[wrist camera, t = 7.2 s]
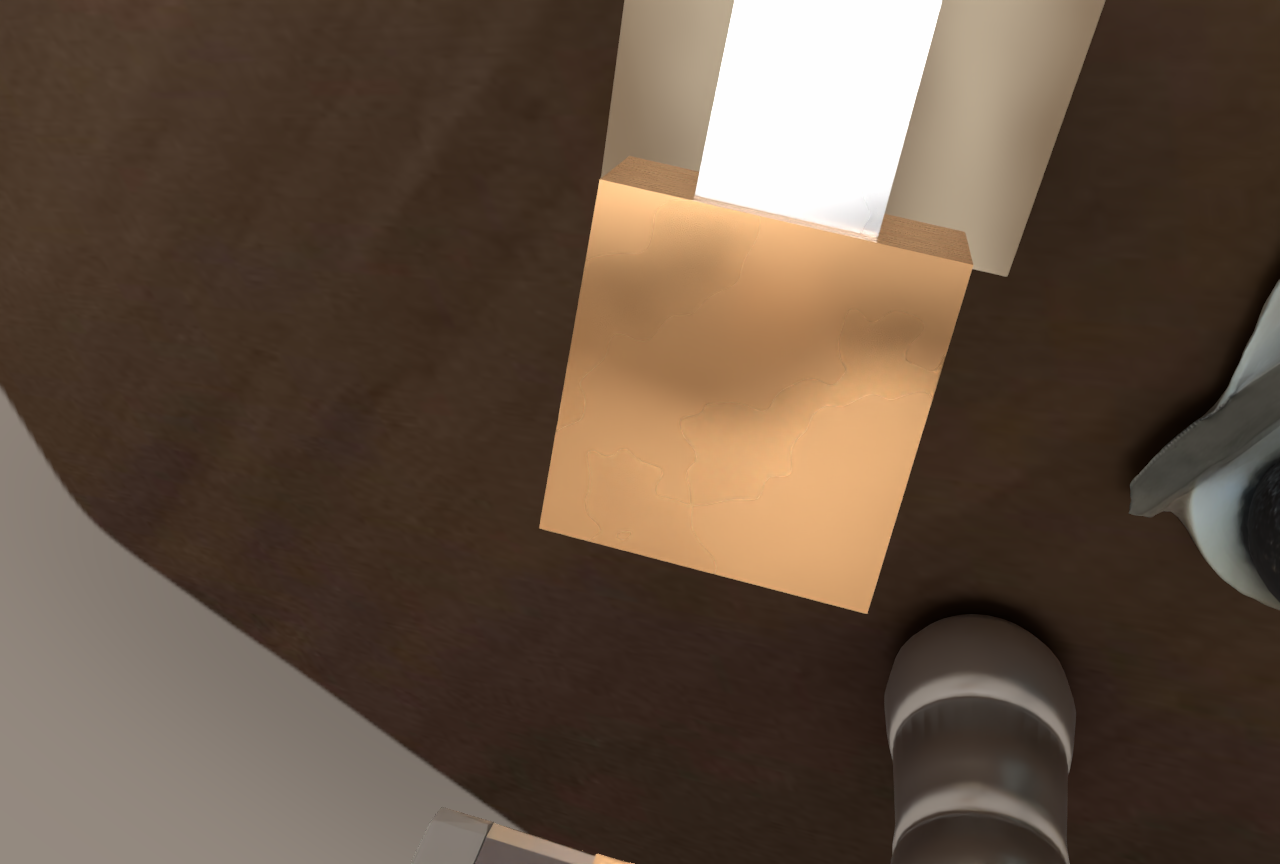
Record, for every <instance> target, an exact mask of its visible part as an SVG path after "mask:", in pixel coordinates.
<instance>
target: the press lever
mask: <svg viewBox="0 0 1280 864" xmlns="http://www.w3.org/2000/svg"><path fill="white" fill-rule="evenodd" d="M941 2H942V0H735V2H734V7H733V12H732V16H731V21H730V26H729V31H728V36H727V41H726V46H725V50H724V55H723V60H722V65H721V70H720V75H719V80H718V85H717V89H716V94H715V99H714V104H713V109H712V114H711V119H710V123H709V128H708V133H707V138H706V143H705V148H704V153H703V157H702V162H701V167H700V172H699V171H694V170H690V169H685V168H681V167H677V166H672V165H668V164H663V163H659V162H654V161H650V160H646V159H641V158H637V157H632V156H628V157H627V158H626V159H625V160H623V161H622V162H621V163H620V164H618V165H617V166H616V167H615V168H613V169H612V170H611V171H610V172H608V173H607V174H606V175H604V176H603V177H602V178H601V179H600V181H599V186H598V192H597V198H596V204H595V209H594V215H593V221H592V227H591V233H590V238H589V244H588V250H587V256H586V261H585V267H584V273H583V279H582V284H581V290H580V296H579V302H578V307H577V313H576V319H575V325H574V330H573V336H572V342H571V348H570V354H569V359H568V365H567V371H566V377H565V382H564V388H563V394H562V400H561V405H560V411H559V417H558V423H557V428H556V434H555V440H554V446H553V451H552V457H551V463H550V469H549V475H548V480H547V486H546V492H545V498H544V503H543V509H542V515H541V521H540V526H539V528H540V529H544V530H548V531H551V532H555V533H559V534H563V535H567V536H570V537H574V538H578V539H582V540H586V541H590V542H593V543H597V544H601V545H605V546H609V547H613V548H616V549H620V550H624V551H628V552H632V553H636V554H639V555H643V556H647V557H651V558H655V559H658V560H662V561H666V562H670V563H674V564H678V565H681V566H685V567H689V568H693V569H697V570H701V571H704V572H708V573H712V574H716V575H720V576H724V577H727V578H731V579H735V580H739V581H743V582H746V583H750V584H754V585H758V586H762V587H766V588H769V589H773V590H777V591H781V592H785V593H789V594H792V595H796V596H800V597H804V598H808V599H812V600H815V601H819V602H823V603H827V604H831V605H834V606H838V607H842V608H846V609H850V610H854V611H857V612H861V613H865V614H867V613H868V610H869V606H870V603H871V600H872V596H873V593H874V590H875V587H876V583H877V580H878V577H879V573H880V570H881V567H882V564H883V560H884V557H885V554H886V550H887V547H888V544H889V541H890V537H891V534H892V531H893V527H894V524H895V521H896V518H897V514H898V511H899V508H900V504H901V501H902V498H903V495H904V491H905V488H906V485H907V481H908V478H909V475H910V472H911V468H912V465H913V462H914V459H915V455H916V452H917V449H918V445H919V442H920V439H921V436H922V432H923V429H924V426H925V422H926V419H927V416H928V413H929V409H930V406H931V403H932V399H933V396H934V393H935V390H936V386H937V383H938V380H939V376H940V373H941V370H942V367H943V363H944V360H945V357H946V353H947V350H948V347H949V344H950V340H951V337H952V334H953V330H954V327H955V324H956V321H957V317H958V314H959V311H960V307H961V304H962V301H963V298H964V294H965V291H966V288H967V284H968V281H969V278H970V275H971V271H972V268H973V261H972V257H971V253H970V249H969V245H968V241H967V237H966V233H965V232H963V231H959V230H954V229H950V228H946V227H941V226H937V225H932V224H928V223H924V222H919V221H915V220H910V219H906V218H902V217H897V216H893V215H888V214H884V213H885V210H886V206H887V202H888V199H889V195H890V191H891V188H892V184H893V180H894V176H895V173H896V169H897V165H898V162H899V158H900V154H901V150H902V147H903V143H904V139H905V136H906V132H907V128H908V125H909V121H910V117H911V113H912V110H913V106H914V102H915V99H916V95H917V91H918V87H919V84H920V80H921V76H922V73H923V69H924V65H925V62H926V58H927V54H928V50H929V47H930V43H931V39H932V36H933V32H934V28H935V24H936V21H937V17H938V13H939V10H940V6H941Z"/></svg>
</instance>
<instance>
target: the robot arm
mask: <svg viewBox="0 0 1280 864" xmlns="http://www.w3.org/2000/svg"><path fill="white" fill-rule="evenodd" d="M411 864H632V863H628V862H624V861H621V860H617V859H614V858H610V857H607V856H603V855H600V854H596V855H594V854H591V853H588V852H585V851H582V850H578V849H575V848H572V847H569V846H566V845H562V844H559V843H556V842H553V841H550V840H546V839H543V838H540V837H537V836H534V835H530V834H527V833H524V832H521V831H518V830H514V829H511V828H508V827H505V826H502V825H498V824H495V823H494V822H491V821H488V820H484V819H481V818H478V817H474V816H471V815H468V814H464V813H460V812H457V811H454V810H451V809H447V808H444V807H441V808H440V810H439V811H438V812H437V814H436V815H435V816H434V818H433V819H432V820H431V822H430V823H429V825H428V827H427V829H426V832H425V834H424V836H423V838H422V840H421V842H420V844H419V846H418V849H417V851H416V853H415V855H414V857H413V859H412V861H411Z"/></svg>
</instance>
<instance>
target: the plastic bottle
mask: <svg viewBox="0 0 1280 864" xmlns="http://www.w3.org/2000/svg"><path fill="white" fill-rule="evenodd" d="M884 707H885V719H886V729H887V738H888V743H889V747H890V752H891V755H892V759H893V776H894V801H895V831H894V839H893V855H892V859H891V864H1069V857H1068V850H1067V799H1068V774H1069V771H1070V766H1071V762H1072V757H1073V748H1074V736H1075V724H1076V709H1075V704H1074V699H1073V696H1072V693H1071V690H1070V687H1069V684H1068V681H1067V678H1066V675H1065V672H1064V670H1063V668H1062V666H1061V664H1060V662H1059V660H1058V659H1057V657H1056V656H1055V655H1054V654H1053V652H1052V651H1051V650H1050V649H1049V648H1048V647H1047V646H1046V645H1045V644H1044V643H1042V642H1041V641H1040V640H1039V639H1038V638H1037V637H1035V636H1034V635H1032V634H1031V633H1030V632H1028V631H1027V630H1025V629H1023V628H1022V627H1020V626H1018V625H1017V624H1015V623H1012V622H1009V621H1007V620H1004V619H1002V618H997V617H993V616H989V615H979V614H965V615H955V616H951V617H947V618H943V619H941V620H938V621H936V622H934V623H931V624H930V625H928V626H927V627H925V628H924V629H922V630H921V631H919V632H918V633H916V634H915V635H913V636H912V637H910V638H909V640H908V641H907V642H906V643H905V644H904V645H903V646H902V647H901V649H900V650H899V652H898V654H897V656H896V658H895V660H894V663H893V667H892V670H891V673H890V676H889V679H888V682H887V686H886V690H885V694H884Z"/></svg>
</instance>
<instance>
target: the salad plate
mask: <svg viewBox="0 0 1280 864" xmlns="http://www.w3.org/2000/svg"><path fill="white" fill-rule="evenodd" d="M1130 490H1131V493H1130V496H1131V503H1130V512H1129V514H1133V515H1137V516H1145V517H1153V516H1154V515H1156V514H1158V513H1160V512H1162V511H1171V512H1172V513H1173V514H1175V515H1176V516H1177V517H1178V518H1179V519H1180V521H1181V522H1182V523H1183V525H1184V526H1185V528H1186V529H1187V530H1188V532H1189V534H1190V536H1191V538H1192V540H1193V541H1194V543H1195V545H1196V546H1197V548H1198V549H1199V551H1200V553H1201V554H1202V556H1203V558H1204V559H1205V560H1206V561H1207V563H1208V564H1209V565H1210V566H1211V567H1212V568H1213V570H1214V571H1215V572H1216V573H1217V574H1218V575H1219V576H1220V577H1221V578H1222V579H1223V580H1224V581H1226V582H1227V583H1228V584H1230V585H1231V586H1232V587H1234V588H1235V589H1236V590H1237V591H1239V592H1240V593H1242V594H1244V595H1246V596H1248V597H1251V598H1254V599H1255V600H1257V601H1259V602H1261V603H1262V604H1265V605H1266V606H1269V607H1272V608H1275V609H1277V610H1280V279H1279V281H1278V282H1277V284H1276V286H1275V287H1274V289H1273V290H1272V292H1271V294H1270V295H1269V297H1268V299H1267V300H1266V302H1265V304H1264V306H1263V308H1262V311H1261V313H1260V316H1259V319H1258V322H1257V324H1256V327H1255V330H1254V332H1253V334H1252V336H1251V337H1250V339H1249V341H1248V343H1247V345H1246V347H1245V349H1244V351H1243V353H1242V356H1241V359H1240V362H1239V364H1238V366H1237V368H1236V370H1235V372H1234V374H1233V376H1232V378H1231V381H1230V383H1229V385H1228V387H1227V389H1226V390H1225V391H1224V393H1223V394H1222V395H1221V397H1220V398H1219V399H1218V401H1217V402H1216V403H1215V405H1214V406H1213V407H1212V408H1211V409H1210V410H1209V411H1208V412H1207V413H1206V414H1204V415H1203V416H1202V417H1201V418H1199V419H1198V420H1196V421H1194V422H1193V423H1192V424H1191V425H1189V426H1188V427H1187V428H1186V429H1184V430H1183V431H1182V432H1181V433H1179V434H1178V435H1177V436H1175V437H1174V438H1173V439H1172V440H1171V441H1170V442H1169V443H1168V444H1166V445H1165V446H1164V447H1163V448H1162V450H1161V451H1160V452H1159V453H1158V454H1157V455H1156V456H1155V457H1153V458H1152V459H1151V461H1150V462H1149V463H1148V464H1147V465H1146V466H1145V467H1144V469H1143V470H1142V471H1141V472H1140V473H1139V474H1138V475H1137V476H1136V477H1135V478H1134V479H1133V480H1132V482H1131V483H1130Z"/></svg>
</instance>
